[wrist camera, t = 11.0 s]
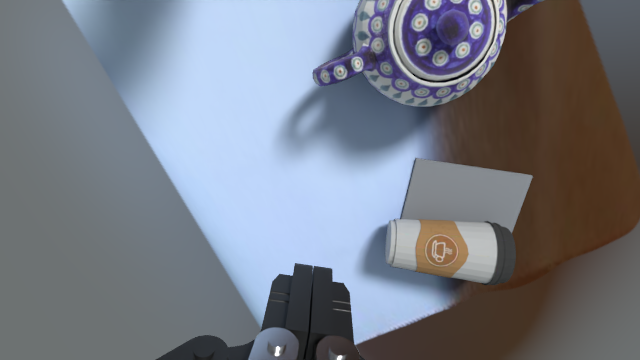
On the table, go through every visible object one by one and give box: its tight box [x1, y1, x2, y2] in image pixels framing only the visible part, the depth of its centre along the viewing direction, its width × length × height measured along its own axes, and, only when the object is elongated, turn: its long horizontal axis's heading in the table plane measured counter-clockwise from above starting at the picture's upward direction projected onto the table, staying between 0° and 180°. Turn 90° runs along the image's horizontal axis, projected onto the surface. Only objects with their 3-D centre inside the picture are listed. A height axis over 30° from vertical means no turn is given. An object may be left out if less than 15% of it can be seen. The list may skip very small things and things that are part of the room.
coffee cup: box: [385, 219, 516, 285], centre depth 48 cm, size 8×8×15 cm
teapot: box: [313, 0, 544, 106], centre depth 36 cm, size 25×15×15 cm, turn 109°
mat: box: [401, 158, 533, 234], centre depth 50 cm, size 16×14×1 cm
